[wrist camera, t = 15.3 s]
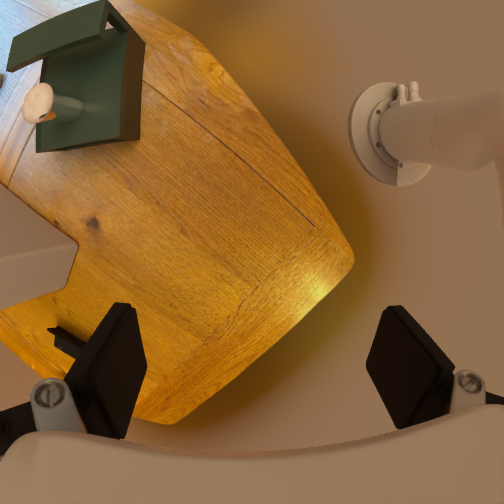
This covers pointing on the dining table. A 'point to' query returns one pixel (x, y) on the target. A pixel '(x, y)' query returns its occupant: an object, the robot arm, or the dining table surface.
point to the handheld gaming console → (67, 342)
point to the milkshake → (50, 105)
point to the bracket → (30, 253)
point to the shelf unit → (86, 74)
